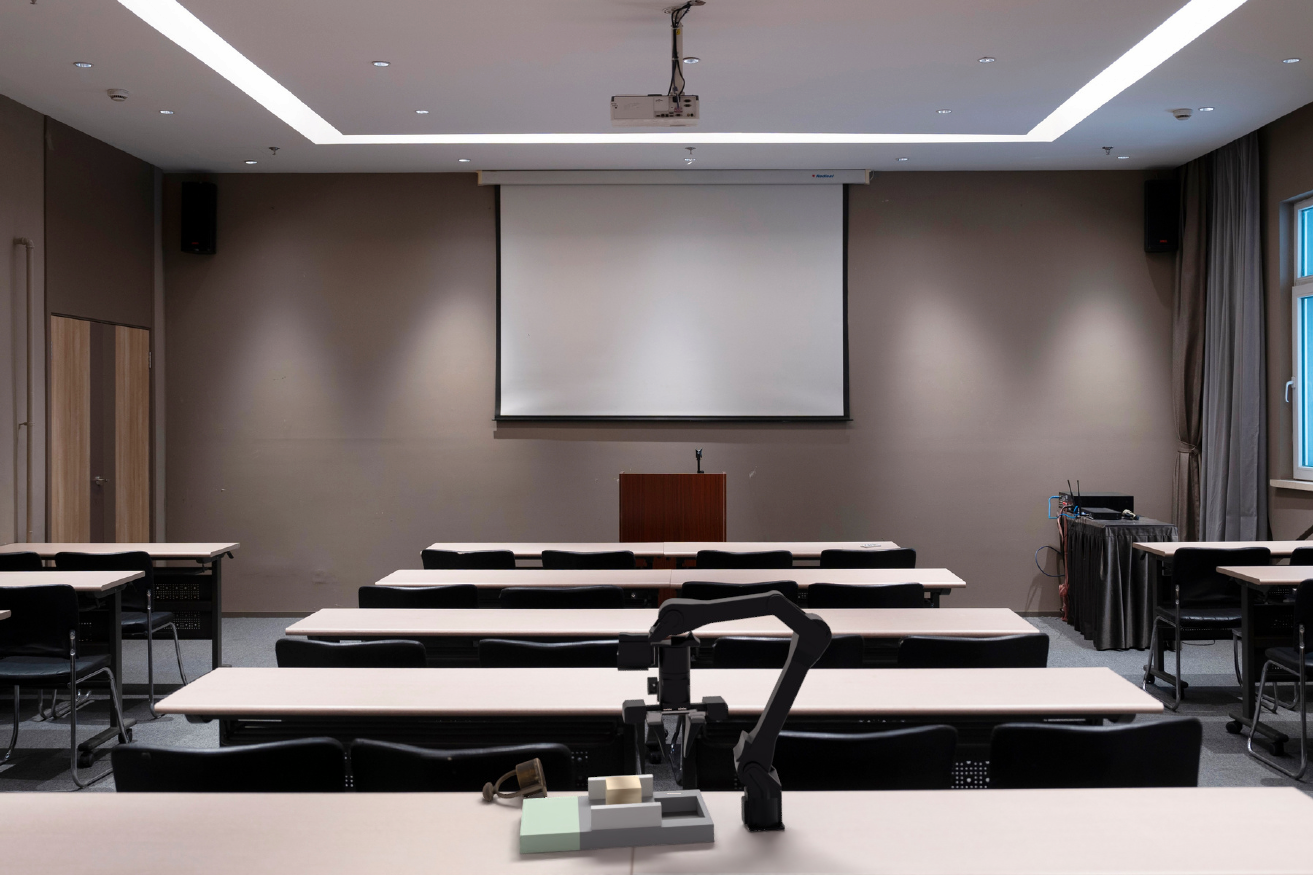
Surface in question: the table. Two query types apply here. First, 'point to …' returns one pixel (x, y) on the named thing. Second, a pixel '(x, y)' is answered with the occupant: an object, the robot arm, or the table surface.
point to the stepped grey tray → (614, 820)
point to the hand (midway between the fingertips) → (675, 757)
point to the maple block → (623, 790)
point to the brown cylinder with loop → (520, 781)
